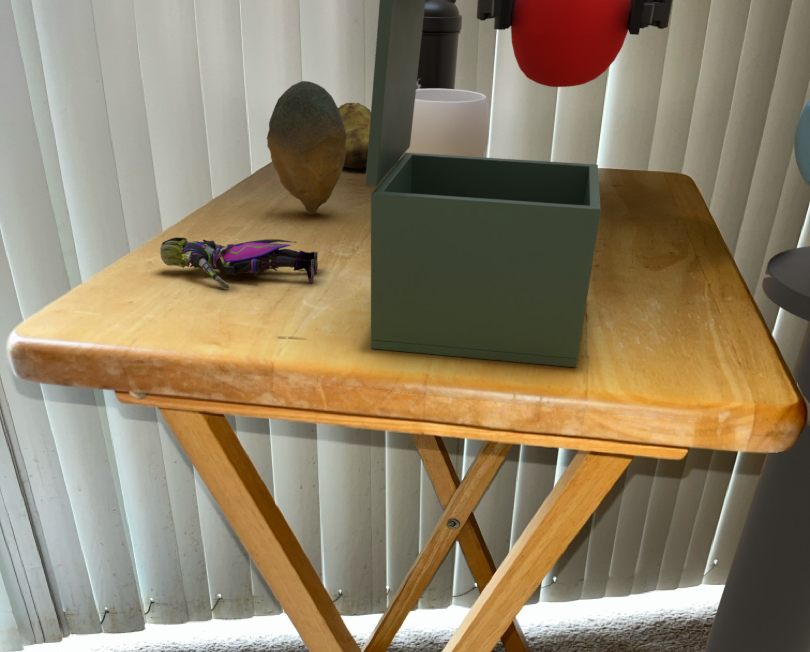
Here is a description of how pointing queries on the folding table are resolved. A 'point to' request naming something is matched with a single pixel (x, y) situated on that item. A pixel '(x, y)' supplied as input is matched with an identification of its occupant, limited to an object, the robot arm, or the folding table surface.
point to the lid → (393, 84)
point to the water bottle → (439, 45)
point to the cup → (449, 123)
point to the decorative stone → (307, 143)
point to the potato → (356, 134)
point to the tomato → (568, 38)
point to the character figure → (236, 257)
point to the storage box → (483, 257)
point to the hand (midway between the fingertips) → (570, 13)
